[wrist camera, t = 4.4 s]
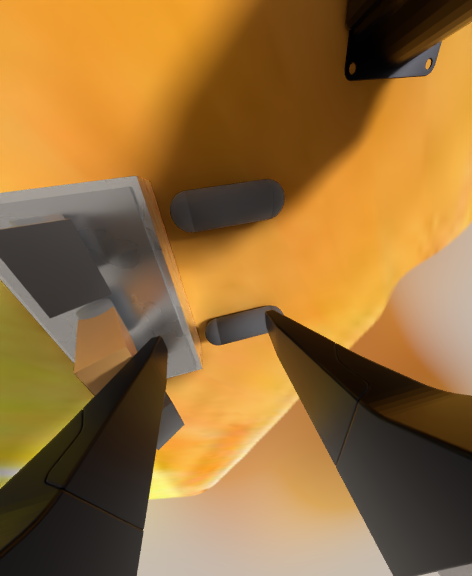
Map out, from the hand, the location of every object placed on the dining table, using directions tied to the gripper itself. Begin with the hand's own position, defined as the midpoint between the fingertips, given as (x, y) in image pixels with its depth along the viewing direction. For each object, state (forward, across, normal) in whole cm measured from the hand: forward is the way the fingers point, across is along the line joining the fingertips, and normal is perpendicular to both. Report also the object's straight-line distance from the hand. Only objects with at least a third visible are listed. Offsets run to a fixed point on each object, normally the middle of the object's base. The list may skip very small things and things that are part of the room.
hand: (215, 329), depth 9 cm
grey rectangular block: (+2, +6, -5) cm, 8 cm away
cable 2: (+7, -2, +5) cm, 9 cm away
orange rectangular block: (+2, +6, 0) cm, 7 cm away
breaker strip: (+6, +6, 0) cm, 9 cm away
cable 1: (+7, -2, -5) cm, 9 cm away
